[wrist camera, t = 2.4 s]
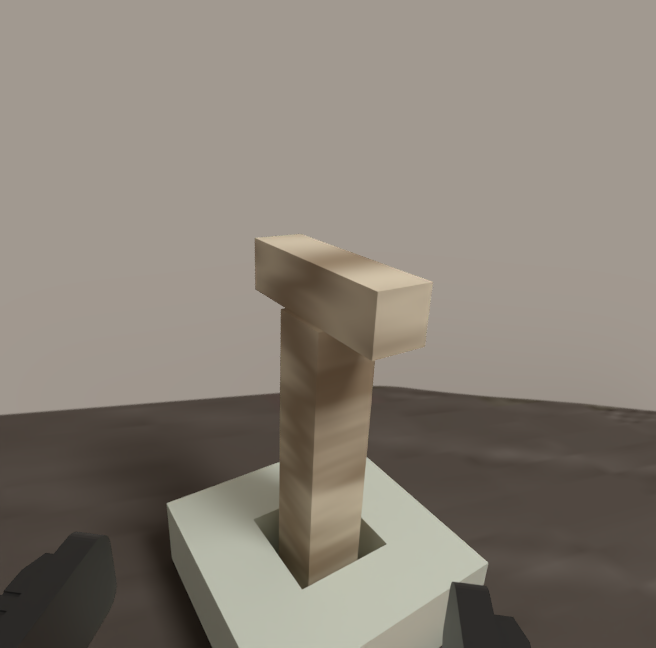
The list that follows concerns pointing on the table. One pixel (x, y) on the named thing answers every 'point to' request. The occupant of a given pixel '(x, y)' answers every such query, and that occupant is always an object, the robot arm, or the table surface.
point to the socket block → (328, 593)
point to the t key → (330, 386)
